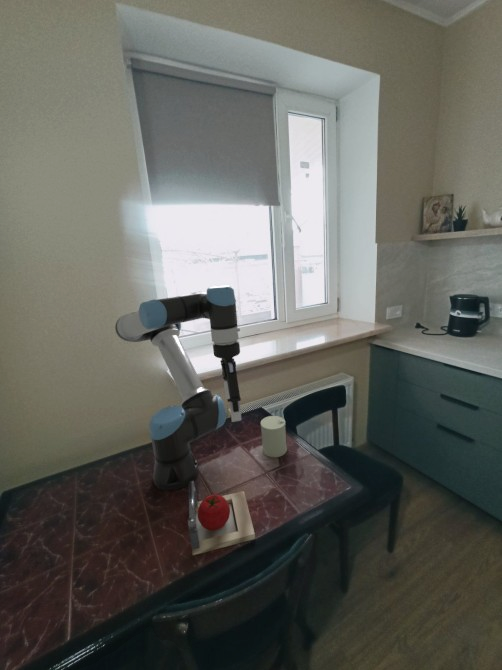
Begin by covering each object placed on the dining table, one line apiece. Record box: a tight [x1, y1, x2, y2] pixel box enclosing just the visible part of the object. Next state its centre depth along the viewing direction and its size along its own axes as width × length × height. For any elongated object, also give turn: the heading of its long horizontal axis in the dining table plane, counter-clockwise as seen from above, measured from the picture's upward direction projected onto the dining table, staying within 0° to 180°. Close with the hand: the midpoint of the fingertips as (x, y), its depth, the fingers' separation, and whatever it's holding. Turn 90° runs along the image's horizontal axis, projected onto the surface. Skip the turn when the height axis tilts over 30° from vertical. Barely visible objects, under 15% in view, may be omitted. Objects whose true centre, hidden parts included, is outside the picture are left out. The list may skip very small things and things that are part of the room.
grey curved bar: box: [187, 480, 200, 551], centre depth 78 cm, size 2×17×9 cm, turn 12°
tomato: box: [198, 494, 230, 530], centre depth 80 cm, size 9×9×8 cm
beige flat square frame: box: [191, 490, 256, 556], centre depth 81 cm, size 16×15×2 cm
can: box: [260, 415, 288, 458], centre depth 109 cm, size 9×9×12 cm
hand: (233, 409), depth 88 cm, fingers open, 13 cm apart
